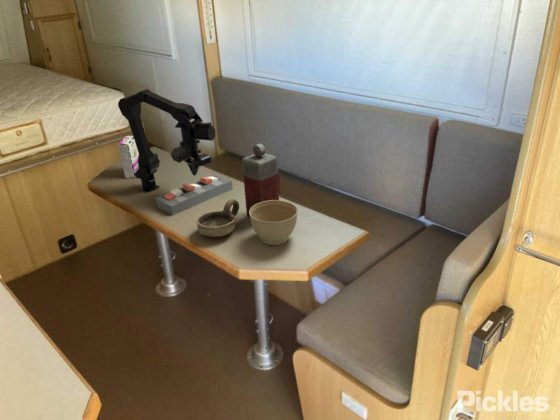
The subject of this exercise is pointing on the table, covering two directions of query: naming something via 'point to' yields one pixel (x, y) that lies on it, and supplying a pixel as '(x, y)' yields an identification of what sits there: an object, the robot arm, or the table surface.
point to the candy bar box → (129, 156)
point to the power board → (194, 195)
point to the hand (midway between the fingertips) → (194, 175)
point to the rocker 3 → (208, 180)
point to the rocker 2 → (191, 187)
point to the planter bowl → (273, 220)
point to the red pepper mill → (260, 177)
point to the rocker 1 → (173, 194)
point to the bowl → (219, 220)
